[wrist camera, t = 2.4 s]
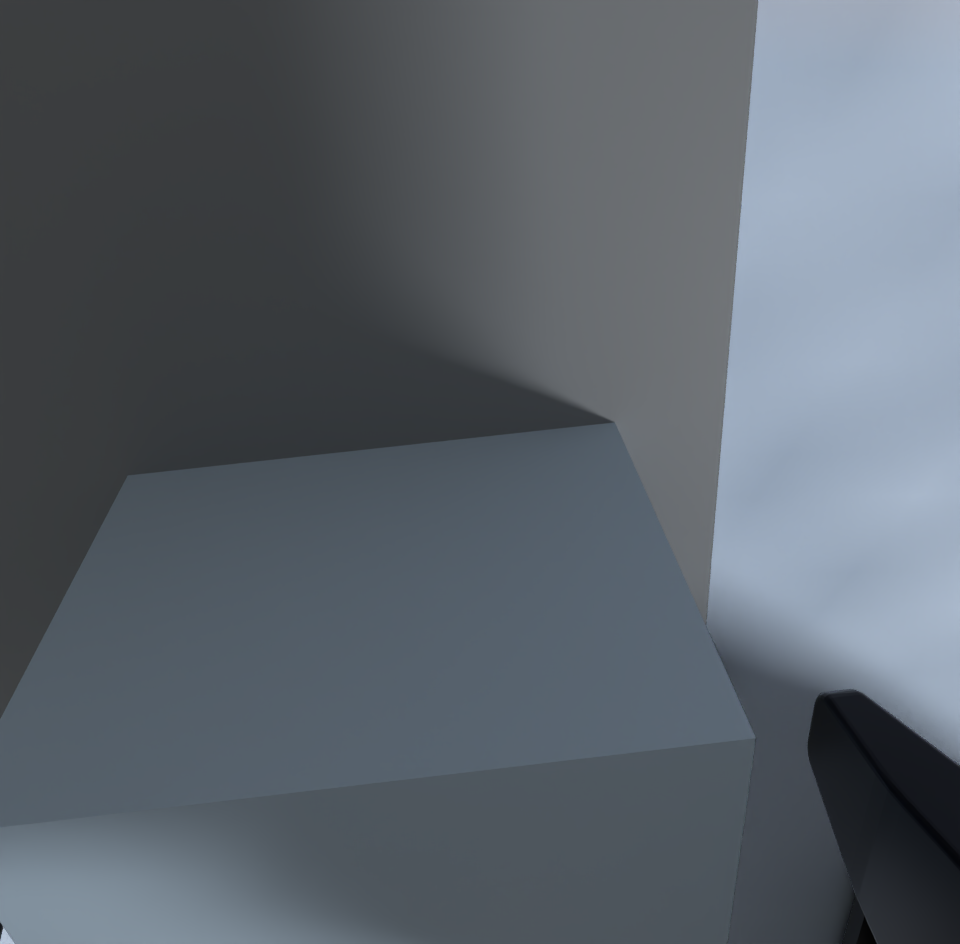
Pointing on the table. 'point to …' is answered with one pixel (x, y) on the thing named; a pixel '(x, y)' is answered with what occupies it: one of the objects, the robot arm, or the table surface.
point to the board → (356, 245)
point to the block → (378, 711)
